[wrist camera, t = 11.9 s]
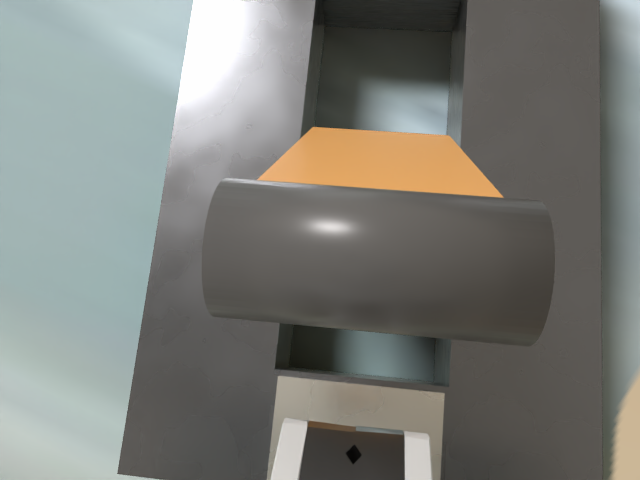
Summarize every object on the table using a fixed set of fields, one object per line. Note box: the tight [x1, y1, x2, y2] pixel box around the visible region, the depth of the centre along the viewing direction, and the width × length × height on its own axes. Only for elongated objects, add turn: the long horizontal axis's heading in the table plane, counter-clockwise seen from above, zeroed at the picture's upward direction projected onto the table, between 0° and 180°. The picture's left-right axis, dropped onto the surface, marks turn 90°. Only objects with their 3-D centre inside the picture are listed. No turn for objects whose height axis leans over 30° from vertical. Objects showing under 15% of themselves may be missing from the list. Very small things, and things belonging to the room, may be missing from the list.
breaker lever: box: [202, 127, 555, 347], centre depth 15 cm, size 3×6×12 cm
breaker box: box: [117, 0, 603, 480], centre depth 22 cm, size 24×16×4 cm, turn 174°
